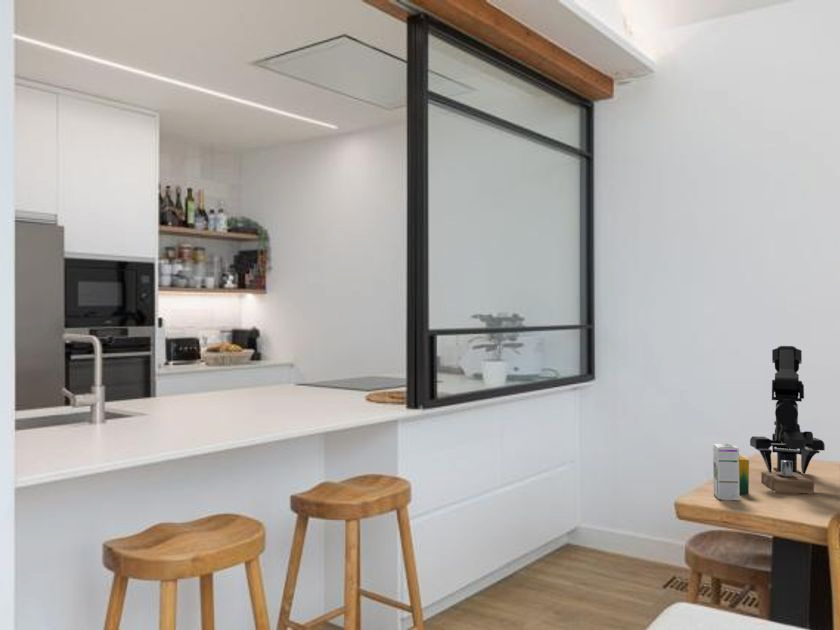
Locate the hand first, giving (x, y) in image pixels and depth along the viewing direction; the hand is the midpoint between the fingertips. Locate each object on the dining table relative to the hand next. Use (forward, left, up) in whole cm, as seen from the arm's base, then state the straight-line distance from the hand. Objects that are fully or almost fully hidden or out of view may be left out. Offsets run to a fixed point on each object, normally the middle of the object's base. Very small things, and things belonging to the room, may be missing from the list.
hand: (786, 472), depth 203 cm
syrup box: (+14, -21, -5) cm, 26 cm away
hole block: (0, 0, -4) cm, 4 cm away
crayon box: (+6, -15, -5) cm, 17 cm away
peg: (0, 0, -4) cm, 4 cm away
